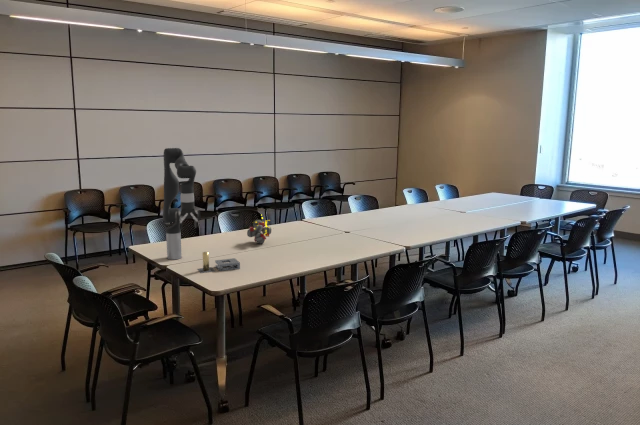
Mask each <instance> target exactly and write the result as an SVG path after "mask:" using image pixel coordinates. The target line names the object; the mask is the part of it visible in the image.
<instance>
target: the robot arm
mask: <svg viewBox="0 0 640 425" xmlns="http://www.w3.org/2000/svg"><path fill="white" fill-rule="evenodd" d="M171 164H174V167H175V170H176V175H177V176H176V175H175V174H174V172H173V170H172V168H171ZM163 171H164V172H163V207H162V220H163V222H164V223H165V224H166V223H167V224H172V223H173V224H172V225H170V226H168V227H167V228H166V229H165V237H166V255H167V258H166V259H168V260H179V259H181V258H182V257H183V256H182V255H183V254H182V236H181V235H182V234H181V232H182V231H183V221H184V220H185V219H187V220H188V219H193V221H194V222H193V223H194V228H195V229H198V226H199V224H198V223H199V221H202V219H201V218H202V216H201V210H200V209H195V207H196V206H195V195H194V194H195V193H194V183H195V178H196V174H197V169H196V167H195V166H194V165H189V163H188V162H187V161H186V159H185V156H184V152H183V151H182V149H181V148H180V147H172V148H171V147H170V148H169V147H168V148H167V147H165V149H164V150H163ZM178 178H179V179H188V180H187V181H184V182H182V183H180V181H179V179H178ZM179 192H180V208H178V207H174V208H173V207H172V208H170V207H171V204H172V202H173V201H174V200H175V199H176V197H177V195H178V194H179ZM195 214H196V216H197V217H196V216H195ZM181 230H182V231H181Z"/></svg>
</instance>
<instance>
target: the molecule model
mask: <svg viewBox="0 0 640 425" xmlns="http://www.w3.org/2000/svg"><path fill="white" fill-rule="evenodd" d="M260 216H263V214H261V215H260ZM262 219H264V217H261V219H255V220H254V221H253V222H252V223H253V225H252V226H249V229H247V231H246V233H247V234H246V235H247V237H248V238H254V239H253V240H254V242H256V243H257V244H262V245H263V244H264V243H265V240H267V237H268V238H269V237H270V235H271V233H272V229H273V230H274V228H272V227H271V226H268V221H269V222H270V221H271V220H270V219H268V221H262ZM246 224H247V222H246Z"/></svg>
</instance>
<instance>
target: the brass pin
mask: <svg viewBox="0 0 640 425" xmlns="http://www.w3.org/2000/svg"><path fill="white" fill-rule="evenodd" d="M209 267H210V252H209V251H203V252H202V268H203V271H209Z"/></svg>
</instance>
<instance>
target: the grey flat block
mask: <svg viewBox="0 0 640 425" xmlns="http://www.w3.org/2000/svg"><path fill="white" fill-rule="evenodd" d="M214 263H215V265H214V267H215V268H216V269H217V270H218V271H219V272H222V271H223V272H225V271H233V270H240V269H241V263H240V261H239V260H237V259H236V258H226V259H225V258H224V259H217V260H214Z"/></svg>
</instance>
